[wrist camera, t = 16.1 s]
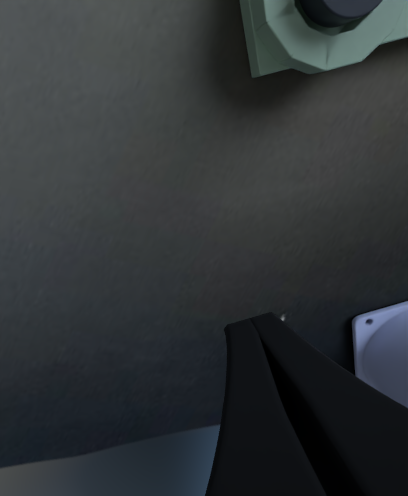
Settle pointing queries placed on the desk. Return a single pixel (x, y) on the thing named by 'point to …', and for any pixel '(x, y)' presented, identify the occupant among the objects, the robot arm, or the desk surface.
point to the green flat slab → (315, 36)
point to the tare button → (337, 11)
